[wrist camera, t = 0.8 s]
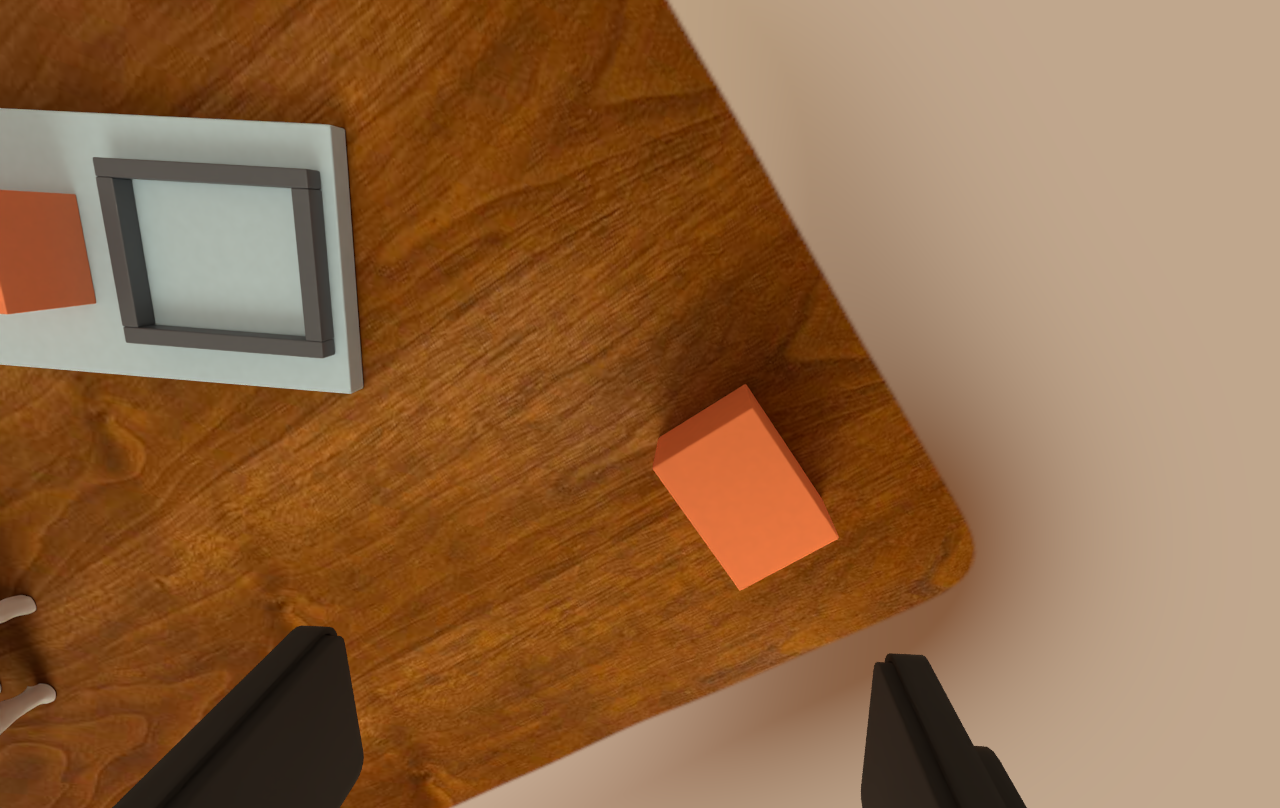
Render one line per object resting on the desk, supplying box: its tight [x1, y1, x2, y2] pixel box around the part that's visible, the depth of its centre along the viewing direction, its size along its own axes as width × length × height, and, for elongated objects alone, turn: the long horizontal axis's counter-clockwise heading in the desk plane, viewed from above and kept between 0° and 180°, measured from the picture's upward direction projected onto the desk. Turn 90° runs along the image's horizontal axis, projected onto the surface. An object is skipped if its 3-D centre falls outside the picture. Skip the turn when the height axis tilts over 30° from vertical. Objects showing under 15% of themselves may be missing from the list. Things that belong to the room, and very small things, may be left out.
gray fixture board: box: [0, 108, 363, 394], centre depth 27 cm, size 12×20×5 cm, turn 87°
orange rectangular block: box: [653, 384, 839, 590], centre depth 28 cm, size 5×7×4 cm
